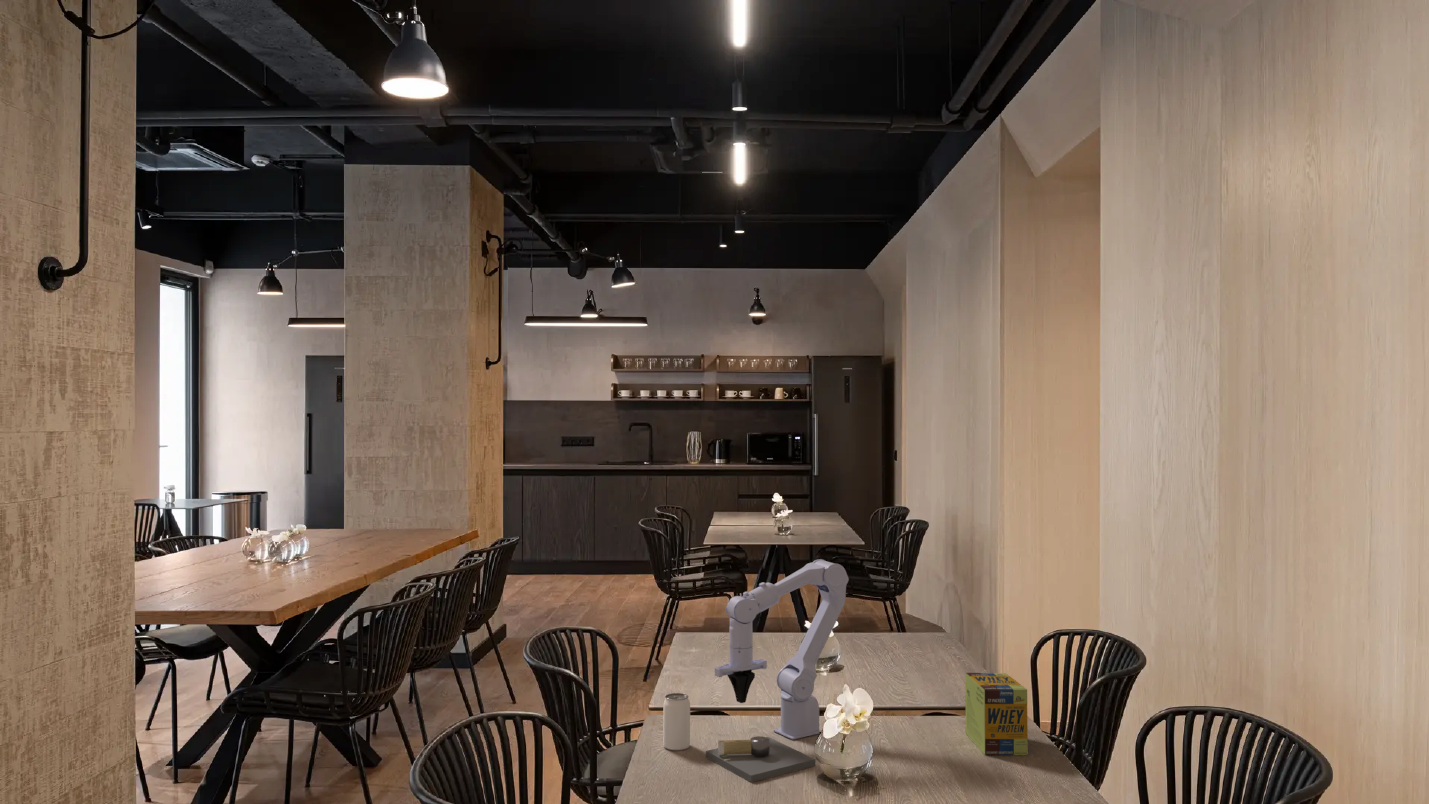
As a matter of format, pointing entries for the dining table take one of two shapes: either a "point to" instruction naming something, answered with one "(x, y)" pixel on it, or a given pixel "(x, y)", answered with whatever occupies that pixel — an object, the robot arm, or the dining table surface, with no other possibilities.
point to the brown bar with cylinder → (745, 746)
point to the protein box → (996, 714)
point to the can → (676, 722)
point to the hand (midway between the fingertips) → (741, 701)
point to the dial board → (763, 762)
